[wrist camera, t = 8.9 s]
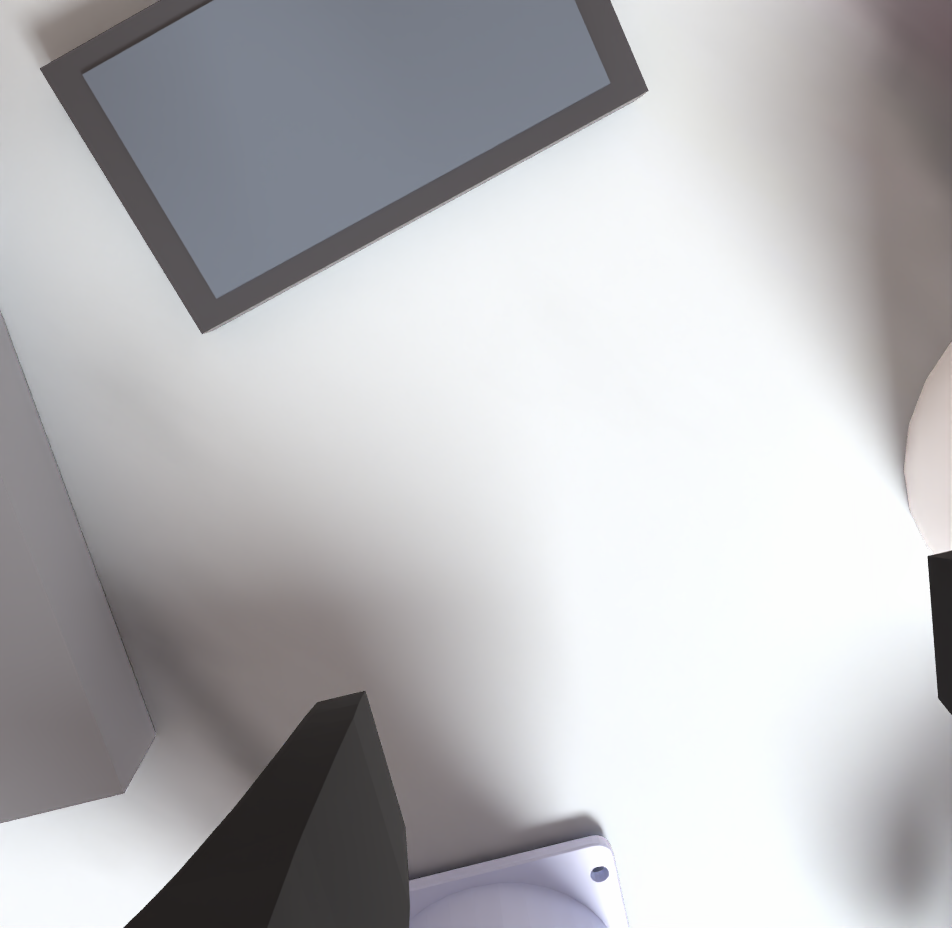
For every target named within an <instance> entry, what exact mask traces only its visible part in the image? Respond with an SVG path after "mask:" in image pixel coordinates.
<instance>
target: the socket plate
mask: <svg viewBox="0 0 952 928" xmlns="http://www.w3.org/2000/svg"><path fill="white" fill-rule="evenodd" d="M155 736H156V733H155V730H154V727H153V725H152V722H151V719H150V716H149V714H148V711H147V708H146V706H145V703H144V700H143V697H142V695H141V692H140V689H139V687H138V684H137V681H136V678H135V676H134V673H133V670H132V668H131V665H130V662H129V659H128V657H127V654H126V651H125V648H124V646H123V643H122V640H121V638H120V635H119V632H118V629H117V627H116V624H115V621H114V619H113V616H112V613H111V610H110V608H109V605H108V602H107V600H106V597H105V594H104V591H103V589H102V586H101V583H100V580H99V578H98V575H97V572H96V570H95V567H94V564H93V561H92V559H91V556H90V553H89V551H88V548H87V545H86V542H85V540H84V537H83V534H82V532H81V529H80V526H79V523H78V521H77V518H76V515H75V513H74V510H73V507H72V504H71V502H70V499H69V496H68V493H67V491H66V488H65V485H64V483H63V480H62V477H61V474H60V472H59V469H58V466H57V464H56V461H55V458H54V455H53V453H52V450H51V447H50V445H49V442H48V439H47V436H46V434H45V431H44V428H43V425H42V423H41V420H40V417H39V415H38V412H37V409H36V406H35V404H34V401H33V398H32V396H31V393H30V390H29V387H28V385H27V382H26V379H25V377H24V374H23V371H22V368H21V366H20V363H19V360H18V358H17V355H16V352H15V349H14V347H13V344H12V341H11V338H10V336H9V333H8V330H7V328H6V325H5V322H4V319H3V317H2V314H1V311H0V823H4V822H8V821H12V820H16V819H20V818H24V817H28V816H32V815H36V814H41V813H45V812H49V811H53V810H57V809H61V808H65V807H69V806H74V805H78V804H82V803H86V802H90V801H94V800H98V799H102V798H107V797H111V796H115V795H119V794H123V793H124V792H125V791H126V789H127V787H128V785H129V783H130V782H131V780H132V778H133V776H134V774H135V773H136V771H137V769H138V767H139V765H140V763H141V762H142V760H143V758H144V756H145V754H146V753H147V751H148V749H149V747H150V745H151V743H152V742H153V740H154V738H155Z"/></svg>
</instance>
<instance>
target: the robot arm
mask: <svg viewBox="0 0 952 928" xmlns="http://www.w3.org/2000/svg"><path fill="white" fill-rule="evenodd" d="M928 568H929V582H930V595H931V608H932V622H933V635H934V648H935V661H936V675H937V688H938V699H939V700H940V701H941V702H942V703H943V705H944V706H945V707H946V708H947V710H948V711H949V712H950V713H951V714H952V550H951V551H947V552H943V553H939V554H934V555H930V556H928ZM598 866H604V868H603V870H601V871H599V872H593V871H592V870H593V869H594V868H596V867H598ZM124 928H629V924H628V919H627V914H626V910H625V905H624V900H623V896H622V891H621V886H620V881H619V877H618V872H617V867H616V863H615V858H614V853H613V851H612V848H611V845H610V843H609V841H608V840H607V839H605V838H604V837H602V836H598V835H594V836H588V837H584V838H580V839H576V840H571V841H567V842H563V843H559V844H555V845H551V846H547V847H543V848H539V849H535V850H531V851H527V852H523V853H519V854H515V855H511V856H507V857H503V858H499V859H494V860H490V861H486V862H482V863H478V864H474V865H470V866H466V867H462V868H458V869H454V870H450V871H446V872H442V873H438V874H434V875H430V876H426V877H422V878H417V879H413V880H409V876H408V860H407V845H406V830H405V825H404V821H403V818H402V814H401V811H400V808H399V804H398V801H397V797H396V794H395V791H394V787H393V784H392V780H391V777H390V773H389V770H388V767H387V763H386V760H385V756H384V753H383V750H382V746H381V743H380V739H379V736H378V732H377V729H376V726H375V722H374V719H373V715H372V712H371V709H370V705H369V702H368V698H367V695H366V691H363V692H358V693H354V694H350V695H346V696H342V697H337V698H333V699H329V700H325V701H321V702H317V703H316V705H315V706H314V707H313V708H312V709H311V710H310V711H309V713H308V714H307V715H306V716H305V718H304V719H303V720H302V721H301V723H300V724H299V725H298V727H297V728H296V729H295V731H294V732H293V733H292V734H291V736H290V737H289V738H288V740H287V741H286V742H285V744H284V745H283V746H282V748H281V749H280V750H279V751H278V753H277V754H276V755H275V757H274V758H273V759H272V761H271V762H270V763H269V764H268V766H267V767H266V768H265V769H264V771H263V772H262V773H261V775H260V776H259V777H258V778H257V780H256V781H255V782H254V783H253V785H252V786H251V787H250V788H249V790H248V791H247V792H246V794H245V795H244V796H243V797H242V799H241V800H240V801H239V802H238V804H237V805H236V806H235V807H234V808H233V810H232V811H231V812H230V813H229V814H228V815H227V816H226V818H225V819H224V820H223V821H222V822H221V823H220V825H219V826H218V827H217V828H216V829H215V830H214V831H213V833H212V834H211V835H210V836H209V837H208V838H207V839H206V841H205V842H204V843H203V844H202V845H201V846H200V847H199V849H198V850H197V851H196V852H195V853H194V854H193V856H192V857H191V858H190V859H189V860H188V861H187V862H186V864H185V865H184V866H183V867H182V868H181V869H180V870H179V872H178V873H177V874H176V875H175V876H174V877H173V878H172V879H171V880H170V881H169V882H168V883H167V884H166V885H165V886H164V888H163V889H162V890H161V891H160V892H159V893H158V894H157V895H156V896H155V897H154V898H153V899H152V900H151V901H150V902H149V903H148V904H147V905H146V906H145V907H144V908H143V909H142V910H141V911H140V912H139V913H138V914H137V915H136V916H135V917H134V918H133V919H132V920H131V921H130V922H129V923H128V924H127V925H126V926H125V927H124Z"/></svg>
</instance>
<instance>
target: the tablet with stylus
mask: <svg viewBox="0 0 952 928" xmlns="http://www.w3.org/2000/svg"><path fill="white" fill-rule="evenodd" d="M40 70H41V71H42V73H43V75H44V76H45V78H46V80H47V81H48V83H49V85H50V86H51V88H52V89H53V91H54V93H55V94H56V96H57V98H58V99H59V101H60V103H61V104H62V106H63V107H64V109H65V111H66V112H67V114H68V116H69V117H70V119H71V121H72V122H73V124H74V125H75V127H76V129H77V130H78V132H79V134H80V135H81V137H82V139H83V140H84V142H85V143H86V145H87V147H88V148H89V150H90V152H91V153H92V155H93V157H94V158H95V160H96V161H97V163H98V165H99V166H100V168H101V170H102V171H103V173H104V175H105V176H106V178H107V179H108V181H109V183H110V184H111V186H112V188H113V189H114V191H115V193H116V194H117V196H118V197H119V199H120V201H121V202H122V204H123V206H124V207H125V209H126V211H127V212H128V214H129V215H130V217H131V219H132V220H133V222H134V224H135V225H136V227H137V228H138V230H139V232H140V233H141V235H142V237H143V238H144V240H145V242H146V243H147V245H148V246H149V248H150V250H151V251H152V253H153V255H154V256H155V258H156V260H157V261H158V263H159V264H160V266H161V268H162V269H163V271H164V273H165V274H166V276H167V278H168V279H169V281H170V282H171V284H172V286H173V287H174V289H175V291H176V292H177V294H178V296H179V297H180V299H181V300H182V302H183V304H184V305H185V307H186V309H187V310H188V312H189V314H190V315H191V317H192V318H193V320H194V322H195V323H196V325H197V327H198V328H199V330H200V332H201V333H202V334H204V333H207V332H210V331H213V330H215V329H217V328H219V327H221V326H222V325H224V324H226V323H228V322H230V321H232V320H233V319H235V318H237V317H239V316H241V315H243V314H245V313H246V312H248V311H250V310H252V309H254V308H256V307H257V306H259V305H261V304H263V303H265V302H267V301H268V300H270V299H272V298H274V297H276V296H278V295H279V294H281V293H283V292H285V291H287V290H289V289H290V288H292V287H294V286H296V285H298V284H300V283H301V282H303V281H305V280H307V279H309V278H311V277H312V276H314V275H316V274H318V273H320V272H322V271H323V270H325V269H327V268H329V267H331V266H333V265H334V264H336V263H338V262H340V261H342V260H344V259H345V258H347V257H349V256H351V255H353V254H355V253H356V252H358V251H360V250H362V249H364V248H366V247H367V246H369V245H371V244H373V243H375V242H377V241H379V240H380V239H382V238H384V237H386V236H388V235H390V234H391V233H393V232H395V231H397V230H399V229H401V228H402V227H404V226H406V225H408V224H410V223H412V222H413V221H415V220H417V219H419V218H421V217H423V216H424V215H426V214H428V213H430V212H432V211H434V210H435V209H437V208H439V207H441V206H443V205H445V204H446V203H448V202H450V201H452V200H454V199H456V198H457V197H459V196H461V195H463V194H465V193H467V192H468V191H470V190H472V189H474V188H476V187H478V186H479V185H481V184H483V183H485V182H487V181H489V180H490V179H492V178H494V177H496V176H498V175H500V174H501V173H503V172H505V171H507V170H509V169H511V168H513V167H514V166H516V165H518V164H520V163H522V162H524V161H525V160H527V159H529V158H531V157H533V156H535V155H536V154H538V153H540V152H542V151H544V150H546V149H547V148H549V147H551V146H553V145H555V144H557V143H558V142H560V141H562V140H564V139H566V138H568V137H569V136H571V135H573V134H575V133H577V132H579V131H580V130H582V129H584V128H586V127H588V126H590V125H591V124H593V123H595V122H597V121H599V120H601V119H602V118H604V117H606V116H608V115H610V114H612V113H613V112H615V111H617V110H619V109H621V108H623V107H624V106H626V105H628V104H630V103H632V102H634V101H635V100H637V99H638V98H640V97H641V96H642V95H643V94H645V93H646V92H647V91H648V89H647V86H646V84H645V81H644V79H643V77H642V74H641V72H640V70H639V67H638V65H637V63H636V60H635V58H634V56H633V53H632V51H631V48H630V46H629V44H628V41H627V39H626V37H625V34H624V32H623V30H622V27H621V25H620V22H619V20H618V18H617V15H616V13H615V11H614V8H613V6H612V4H611V1H610V0H160V1H158V2H156V3H155V4H153V5H151V6H149V7H147V8H146V9H144V10H142V11H140V12H139V13H137V14H135V15H133V16H132V17H130V18H128V19H126V20H125V21H123V22H121V23H119V24H118V25H116V26H114V27H112V28H110V29H109V30H107V31H105V32H103V33H102V34H100V35H98V36H96V37H95V38H93V39H91V40H89V41H88V42H86V43H84V44H82V45H80V46H79V47H77V48H75V49H73V50H72V51H70V52H68V53H66V54H65V55H63V56H61V57H59V58H58V59H56V60H54V61H52V62H51V63H49V64H47V65H45V66H43V67H42V68H40Z"/></svg>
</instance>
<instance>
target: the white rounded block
mask: <svg viewBox="0 0 952 928" xmlns="http://www.w3.org/2000/svg"><path fill="white" fill-rule="evenodd" d="M904 475H905V482H906V489H907V496H908V502H909V509H910V512H911V514H912V516H913V519H914V521H915V523H916V525H917V527H918V529H919V532H920V534H921V536H922V538H923V540H924V542H925V544H926V546H927V547H928V549H929V550H930V551H931V552H932V553H933V554H939V553H943V552H947V551H951V550H952V341H951V343H950V344H949V346H948V347H947V349H946V350H945V352H944V353H943V355H942V356H941V358H940V359H939V361H938V362H937V364H936V365H935V367H934V368H933V370H932V371H931V373H930V374H929V376H928V377H927V379H926V381H925V383H924V386H923V388H922V391H921V394H920V396H919V399H918V402H917V404H916V407H915V410H914V412H913V415H912V417H911V420H910V423H909V428H908V436H907V445H906V453H905V461H904Z"/></svg>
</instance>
